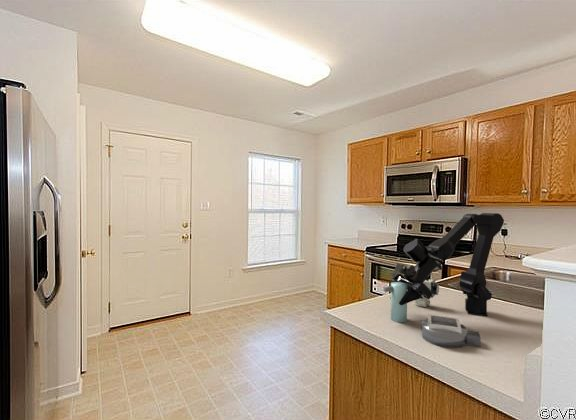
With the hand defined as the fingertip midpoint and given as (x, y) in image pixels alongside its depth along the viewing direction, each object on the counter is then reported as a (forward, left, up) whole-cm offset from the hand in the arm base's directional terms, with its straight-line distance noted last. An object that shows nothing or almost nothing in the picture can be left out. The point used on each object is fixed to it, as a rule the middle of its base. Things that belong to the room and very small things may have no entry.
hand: (395, 301), depth 110 cm
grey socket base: (-17, +10, -7) cm, 21 cm away
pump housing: (0, 0, -7) cm, 7 cm away
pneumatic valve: (-9, -21, -7) cm, 24 cm away
